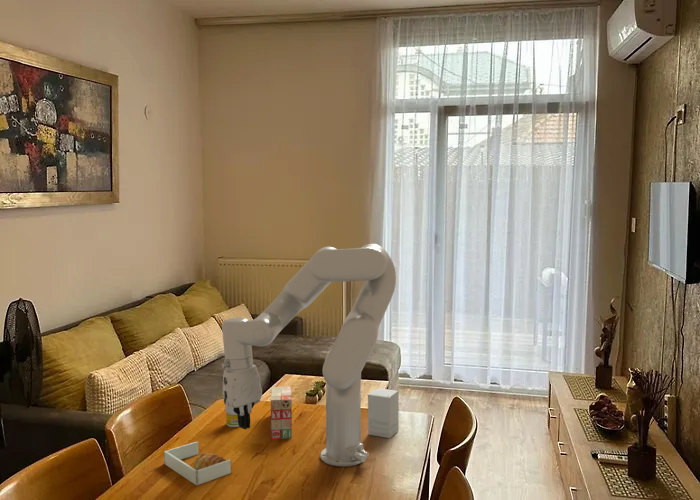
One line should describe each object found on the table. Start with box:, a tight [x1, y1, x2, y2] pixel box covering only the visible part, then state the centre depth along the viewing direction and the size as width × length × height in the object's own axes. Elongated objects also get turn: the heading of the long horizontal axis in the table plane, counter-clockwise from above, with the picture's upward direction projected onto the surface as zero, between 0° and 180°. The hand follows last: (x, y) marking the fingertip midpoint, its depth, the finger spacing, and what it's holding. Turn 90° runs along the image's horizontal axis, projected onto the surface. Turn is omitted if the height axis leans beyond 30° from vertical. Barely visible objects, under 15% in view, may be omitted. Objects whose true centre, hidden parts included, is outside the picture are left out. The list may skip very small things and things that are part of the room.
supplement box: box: [367, 387, 400, 439], centre depth 191 cm, size 7×7×13 cm
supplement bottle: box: [225, 411, 240, 428], centre depth 199 cm, size 5×5×10 cm
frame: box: [163, 441, 232, 486], centre depth 167 cm, size 17×10×4 cm, turn 43°
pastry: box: [193, 452, 227, 470], centre depth 167 cm, size 9×7×4 cm
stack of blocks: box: [270, 385, 293, 440], centre depth 197 cm, size 21×6×12 cm, turn 6°
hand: (244, 427), depth 175 cm, fingers closed
